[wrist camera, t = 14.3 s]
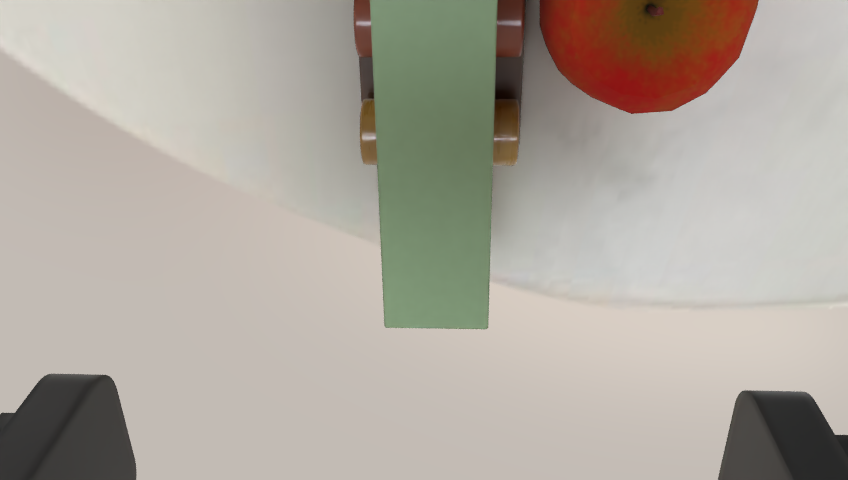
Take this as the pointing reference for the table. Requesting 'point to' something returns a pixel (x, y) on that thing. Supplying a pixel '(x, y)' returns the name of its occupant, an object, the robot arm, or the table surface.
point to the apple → (645, 47)
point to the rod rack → (505, 81)
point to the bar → (435, 158)
